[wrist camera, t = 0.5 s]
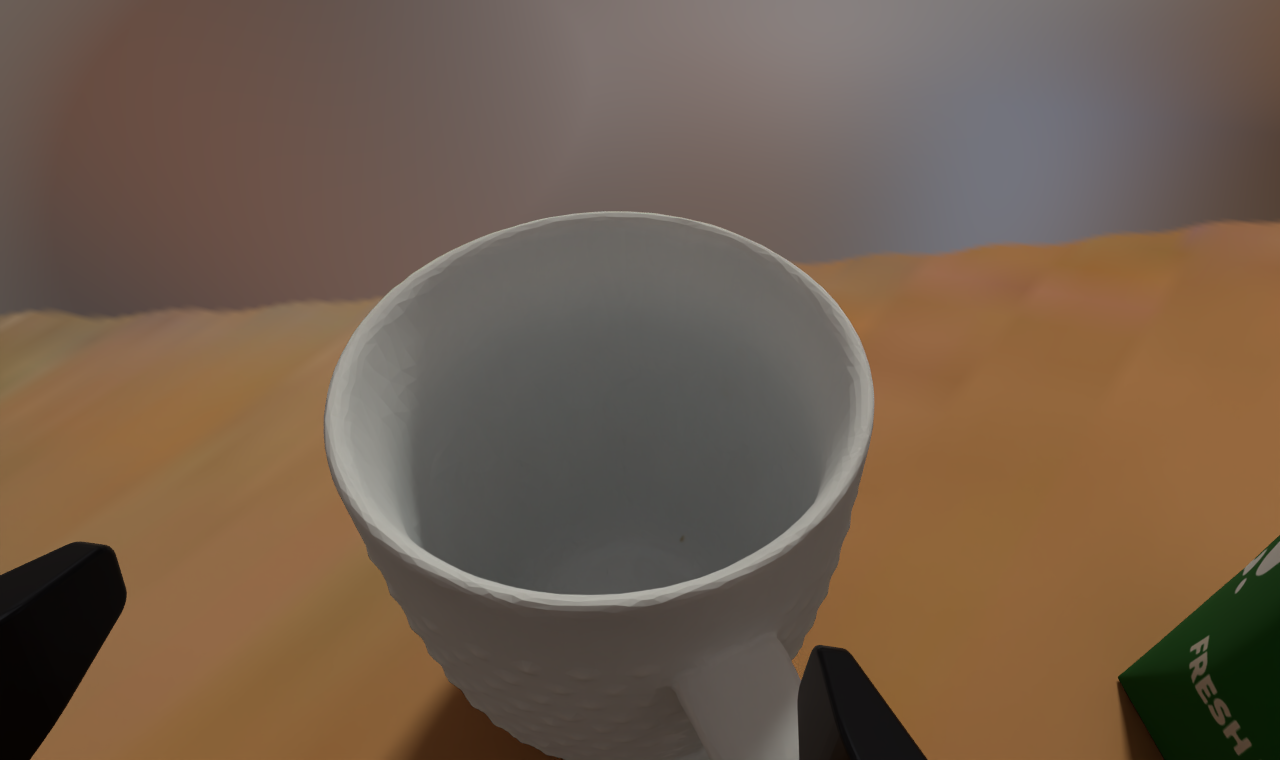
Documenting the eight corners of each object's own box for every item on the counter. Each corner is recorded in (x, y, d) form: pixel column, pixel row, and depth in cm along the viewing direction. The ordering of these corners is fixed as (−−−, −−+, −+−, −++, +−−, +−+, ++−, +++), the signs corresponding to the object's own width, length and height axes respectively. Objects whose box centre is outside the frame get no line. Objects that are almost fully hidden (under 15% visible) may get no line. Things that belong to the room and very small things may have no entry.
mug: (958, 855, 20) (1216, 644, 11) (582, 1102, 17) (470, 1120, 7) (692, 462, 29) (703, 165, 20) (420, 574, 26) (280, 286, 17)
